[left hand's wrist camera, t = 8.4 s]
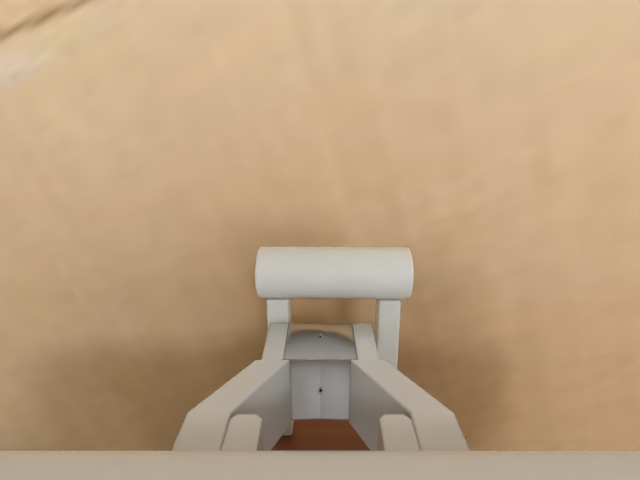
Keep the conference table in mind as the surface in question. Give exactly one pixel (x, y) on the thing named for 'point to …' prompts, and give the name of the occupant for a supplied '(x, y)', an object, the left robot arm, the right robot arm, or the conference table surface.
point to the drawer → (344, 283)
